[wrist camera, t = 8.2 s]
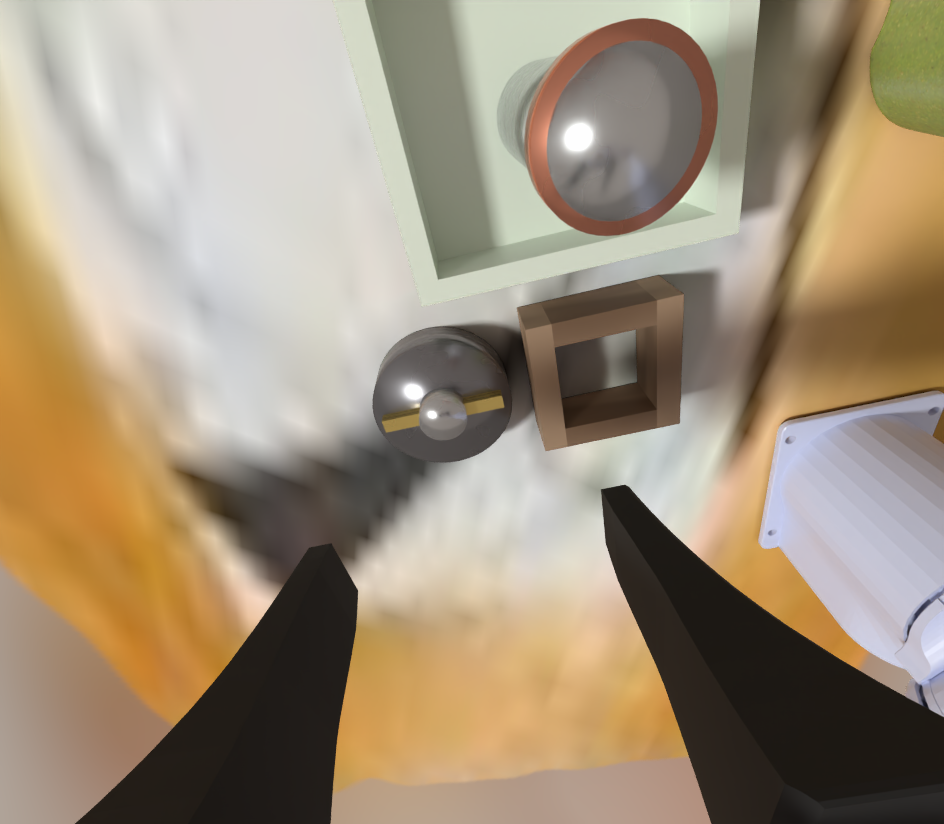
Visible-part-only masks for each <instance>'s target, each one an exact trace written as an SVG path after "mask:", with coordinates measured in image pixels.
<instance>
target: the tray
mask: <svg viewBox="0 0 944 824" xmlns="http://www.w3.org/2000/svg"><path fill="white" fill-rule="evenodd" d="M333 3H334V7H335V10H336V14H337V17H338V21H339V24H340V27H341V31H342V34H343V38H344V41H345V45H346V48H347V52H348V55H349V58H350V62H351V65H352V69H353V72H354V76H355V79H356V83H357V86H358V89H359V93H360V96H361V100H362V103H363V107H364V110H365V114H366V117H367V120H368V124H369V127H370V131H371V134H372V138H373V141H374V144H375V148H376V151H377V155H378V158H379V162H380V165H381V169H382V172H383V175H384V179H385V182H386V186H387V189H388V193H389V196H390V200H391V203H392V206H393V210H394V213H395V217H396V220H397V224H398V227H399V231H400V234H401V237H402V241H403V244H404V248H405V251H406V255H407V258H408V262H409V265H410V268H411V272H412V275H413V279H414V282H415V286H416V289H417V292H418V296H419V299H420V303H421V306H422V307H425V306H429V305H433V304H437V303H442V302H446V301H450V300H455V299H459V298H463V297H467V296H472V295H476V294H480V293H485V292H489V291H493V290H497V289H502V288H506V287H510V286H515V285H519V284H523V283H527V282H532V281H536V280H540V279H545V278H549V277H553V276H557V275H562V274H566V273H570V272H575V271H579V270H583V269H588V268H592V267H596V266H600V265H605V264H609V263H613V262H618V261H622V260H626V259H630V258H635V257H639V256H643V255H648V254H652V253H656V252H660V251H665V250H669V249H673V248H678V247H682V246H686V245H690V244H695V243H699V242H703V241H708V240H712V239H716V238H720V237H725V236H729V235H733V234H738V233H739V224H740V213H741V202H742V192H743V181H744V170H745V159H746V148H747V138H748V127H749V116H750V105H751V94H752V83H753V73H754V62H755V51H756V40H757V29H758V19H759V8H760V0H333ZM637 18H649V19H657V20H661V21H664V22H668V23H670V24H672V25H674V26H676V27H678V28H680V29H682V30H683V31H684V32H686V33H687V34H688V35H689V36H691V37H692V38H693V40H694V41H695V42H696V43H697V44H698V45H699V46H700V48H701V49H702V51H703V52H704V54H705V56H706V57H707V59H708V62H709V64H710V66H711V68H712V71H713V75H714V79H715V82H716V89H717V96H718V114H717V125H716V130H715V135H714V139H713V142H712V146H711V149H710V152H709V155H708V157H707V159H706V162H705V164H704V166H703V168H702V170H701V172H700V173H699V175H698V177H697V179H696V180H695V182H694V183H693V185H692V186H691V188H690V189H689V190H688V192H687V193H686V194H685V195H684V196H683V198H682V199H681V200H680V201H679V202H678V203H677V204H676V205H675V206H674V207H673V208H672V209H671V210H669V211H668V212H667V213H666V214H664V215H663V216H662V217H661V218H659V219H657V220H656V221H654V222H653V223H651V224H649V225H647V226H645V227H643V228H641V229H639V230H636V231H633V232H630V233H626V234H622V235H615V236H597V235H592V234H587V233H584V232H581V231H578V230H576V229H574V228H572V227H571V226H569V225H567V224H566V223H565V222H563V221H562V220H561V219H559V218H558V217H557V216H556V215H555V214H554V213H553V212H552V210H551V209H550V208H549V207H548V206H547V205H546V204H545V203H544V202H543V201H542V199H541V198H540V196H539V195H538V194H537V192H536V190H535V188H534V186H533V184H532V181H531V179H530V176H529V173H528V169H526V168H525V167H524V166H523V165H522V164H521V163H520V162H518V161H517V160H516V159H515V158H514V157H513V156H512V155H511V154H510V153H509V152H508V151H507V149H506V148H505V146H504V145H503V143H502V141H501V138H500V136H499V132H498V127H497V108H498V102H499V99H500V96H501V93H502V91H503V88H504V87H505V85H506V83H507V82H508V80H509V79H510V78H511V76H512V75H513V74H514V73H515V72H516V71H517V70H518V69H520V68H521V67H522V66H524V65H526V64H527V63H530V62H532V61H535V60H539V59H544V58H549V57H554V56H559V55H560V54H561V53H562V52H563V51H564V50H565V49H566V48H567V47H568V46H570V45H571V44H572V43H573V42H575V41H576V40H577V39H579V38H580V37H582V36H584V35H585V34H587V33H589V32H591V31H593V30H596V29H598V28H601V27H603V26H606V25H610V24H613V23H616V22H620V21H624V20H628V19H637Z"/></svg>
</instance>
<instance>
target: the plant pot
mask: <svg viewBox="0 0 944 824" xmlns="http://www.w3.org/2000/svg"><path fill="white" fill-rule="evenodd" d="M870 83H871V88H872V92H873V95H874V98H875V101H876V104H877V105H878V107H879V109H880V110H881V112H882V113H883V114H884V115H885V116H886V118H887V119H888V120H890V121H891V122H893V123H894V124H896V125H898V126H900V127H903V128H906V129H909V130H914V131H918V132H923V133H927V134H932V135H937V136H941V137H944V0H891V3H890V7H889V10H888V13H887V16H886V19H885V22H884V24H883V27H882V29H881V31H880V34H879V36H878V38H877V40H876V42H875V44H874V46H873V48H872V51H871V57H870Z"/></svg>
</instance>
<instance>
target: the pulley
mask: <svg viewBox="0 0 944 824" xmlns="http://www.w3.org/2000/svg"><path fill="white" fill-rule="evenodd" d="M511 410H512V397H511V391H510V387H509V383H508V379H507V375H506V372H505V368H504V365H503V363H502V361H501V359H500V357H499V356H498V354H497V353H496V351H495V350H494V349H493V348H492V347H491V346H490V345H489V344H488V343H487V342H486V341H484V340H483V339H481V338H480V337H478V336H476V335H474V334H472V333H470V332H467V331H465V330H462V329H457V328H451V327H433V328H427V329H423V330H420V331H416V332H414V333H412V334H410V335H408V336H406V337H404V338H403V339H401V340H400V341H399V342H397V343H396V344H395V345H394V346H393V347H392V348H391V349H390V350H389V352H388V353H387V355H386V356H385V357H384V359H383V361H382V363H381V366H380V369H379V372H378V377H377V381H376V385H375V389H374V394H373V413H374V417H375V420H376V423H377V425H378V427H379V429H380V431H381V432H382V434H383V435H384V437H385V438H386V439H387V440H388V441H389V442H390V443H391V444H392V445H393V446H395V447H396V448H397V449H399V450H400V451H402V452H404V453H405V454H407V455H409V456H412V457H414V458H417V459H421V460H424V461H430V462H454V461H460V460H464V459H467V458H470V457H473V456H475V455H477V454H479V453H481V452H483V451H484V450H486V449H487V448H489V447H490V446H491V445H492V444H493V443H494V442H495V441H496V440H497V439H498V438H499V437H500V436H501V434H502V433H503V431H504V430H505V428H506V426H507V424H508V422H509V419H510V415H511Z"/></svg>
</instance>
